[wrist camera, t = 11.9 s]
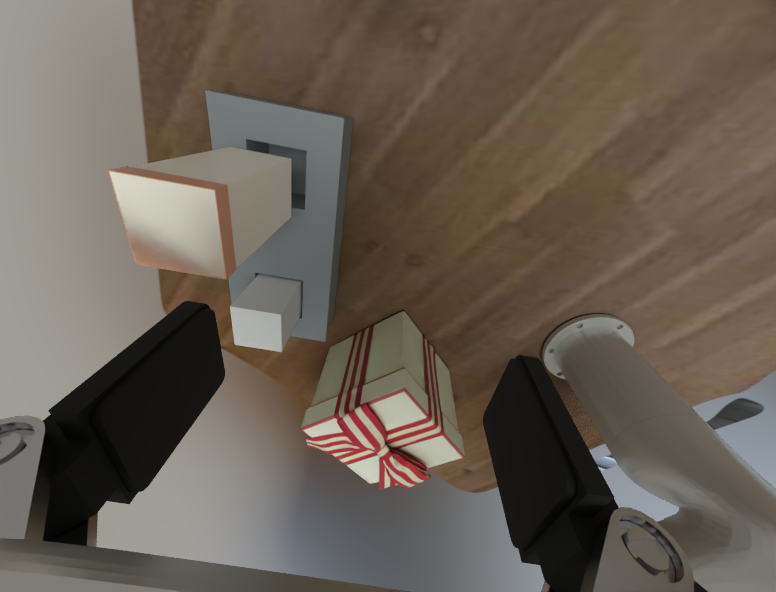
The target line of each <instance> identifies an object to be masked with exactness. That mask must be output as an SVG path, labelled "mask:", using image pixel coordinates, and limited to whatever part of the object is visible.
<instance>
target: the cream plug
mask: <svg viewBox="0 0 776 592" xmlns="http://www.w3.org/2000/svg"><path fill="white" fill-rule="evenodd" d="M108 172H109V176H110V179H111V182H112V186H113V189H114V192H115V196H116V199H117V202H118V206H119V209H120V212H121V216H122V219H123V222H124V226H125V229H126V232H127V236H128V239H129V242H130V246H131V249H132V252H133V256H134V259H135V262H136V264H138V265H144V266H150V267H156V268H161V269H167V270H173V271H179V272H185V273H191V274H197V275H203V276H209V277H215V278H221V279H228V278H229V277H230V276H231V275H232V274H233V273H234V272H235V271H236V268H237V267H238V266H240V265H241V264H242V263H243V262H244V261H245V260H246V259H247V258H248V257H249V256H250V255H251V254H252V253H253V252H254V251H256V250H257V249H258V248H259V247H260V246H261V245H262V244H263V243H264V242H265V241H266V240H267V239H268V238H269V237H270V236H271V235H273V234H274V233H275V232H276V231H277V230H278V229H279V228H280V227H281V226H282V225H283V224H284V223H285V222H286V221H287V220H289V219H290V218H291V158H286V157H281V156H275V155H270V154H265V153H260V152H255V151H249V150H244V149H239V148H234V147H228V148H223V149H218V150H213V151H208V152H203V153H198V154H193V155H188V156H183V157H178V158H173V159H168V160H163V161H158V162H153V163H148V164H144V165H139V166H133V167H128V166H126V167H121V168H116V169H111V170H108Z"/></svg>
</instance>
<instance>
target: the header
mask: <svg viewBox="0 0 776 592" xmlns="http://www.w3.org/2000/svg"><path fill="white" fill-rule="evenodd" d="M205 92H206V100H207V108H208V116H209V125H210V133H211V141H212V149H213V150H218V149H223V148H228V147H234V148H239V149H244V150H249V151H255V152H260V153H265V154H270V155H275V156H281V157H286V158H291V218H290V219H289V220H287V221H286V222H285V223H284V224H283V225H282V226H281V227H280V228H279V229H278V230H277V231H276V232H275V233H274V234H273V235H271V236H270V237H269V238H268V239H267V240H266V241H265V242H264V243H263V244H262V245H261V246H260V247H259V248H258V249H257V250H256V251H254V252H253V253H252V254H251V255H250V256H249V257H248V258H247V259H246V260H245V261H244V262H243V263H242V264H241V265H240V266H238V267H237V268H236V271H235V272H234V273H233V274H232V275H231V276H230V277H229V278H228V279H229V288H230V296H231V304H232V305H231V306H230V311H231V319H232V327H233V334H234V342H235V345H240V346H246V347H253V348H259V349H266V350H272V351H278V352H282V351H283V349H284V347H285V345H286V343H287V341H288V339H289V337H290V336H292V337H299V338H305V339H311V340H317V341H324V342H326V339H327V336H328V333H329V330H330V327H331V324H332V321H333V318H334V314H335V304H336V294H337V283H338V273H339V263H340V252H341V242H342V232H343V222H344V211H345V201H346V191H347V180H348V170H349V160H350V149H351V139H352V129H353V119H354V117H350V116H345V115H340V114H335V113H330V112H325V111H320V110H315V109H310V108H305V107H300V106H296V105H291V104H286V103H281V102H276V101H271V100H266V99H261V98H256V97H251V96H246V95H241V94H235V93H226V92H217V91H208V90H205Z"/></svg>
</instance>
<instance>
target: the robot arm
mask: <svg viewBox="0 0 776 592" xmlns="http://www.w3.org/2000/svg"><path fill="white" fill-rule="evenodd" d="M633 346H634V334H633V331H632V330H631V328H630V327H629V326H628V325H627V324H626V323H625V322H624V321H623V320H621V319H619V318H617V317H615V316H612V315H607V314H590V315H585V316H581V317H578V318H575V319H572V320H570V321H568V322H566V323H564V324H563V325H561V326H560V327H558V328H557V329H556V330H555V331H554V332H553V333H552V334H551V335H550V336H549V337H548V339H547V340H546V342H545V344H544V346H543V349H542V359H543V362H544V364H545V366H546V368H547V369H548V370H549V372H550V373H552V374H553V375H554V376H557V377H559V378H561V379H565V380H567V382H568V383H569V385H570V387H571V388H572V390H573V392H574V393H575V395H576V396H577V398H578V400H579V401H580V403H581V405H582V406H583V408H584V410H585V411H586V413H587V414H588V416H589V418H590V419H591V421H592V423H593V424H594V426H595V428H596V429H597V431H598V432H599V434H600V436H601V437H602V439H603V441H604V442H605V444H606V446H607V447H608V449H609V450H610V452H611V454H612V456H613V457H614V459H615V460H616V462H617V464H618V465H619V467H620V468H621V470H622V471H623V472H624V473H625V474H626V475H627V477H629V478H630V479H631V480H632V481H633V482H634V483H635V484H637V485H638V486H640V487H641V488H643V489H645V490H646V491H648V492H649V493H651V494H653V495H655V496H657V497H659V498H661V499H663V500H665V501H667V502H669V503H671V504H674V505H676V506H678V507H679V512H677V513H676V514H675V515H672V516H670V517H667V518H665V519H664V520H661V521H658V522H656V521H655V520H654V519H652V518H650V517H649V516H647V515H645V514H644V513H642V512H640V511H637V510H634V509H632V508H624V507H621V508H618V506H617V504H616V502H615V500H614V496H613V494H612V493H611V490H610V488H609V487H608V485H607V483H606V481H605V479H604V477H603V476H602V474H601V472H600V470H599V468H598V466H597V464H596V462H595V461H594V459H593V457H592V455H591V453H590V451H589V450H588V448H587V446H586V444H585V442H584V440H583V438H582V437H581V435H580V433H579V431H578V429H577V427H576V425H575V424H574V422H573V420H572V418H571V416H570V414H569V412H568V411H567V409H566V407H565V405H564V403H563V401H562V399H561V398H560V396H559V394H558V392H557V390H556V388H555V386H554V385H553V383H552V381H551V379H550V377H549V375H548V374H547V372H546V370H545V368H544V366H543V364H542V362H541V361H540V360H539V359H538V358H534V357H528V356H522V355H518V356H517V357H516V358H515V359H511V360H510V361H509V363H508V365H507V367H506V370H505V372H504V374H503V376H502V378H501V380H500V382H499V384H498V386H497V388H496V390H495V392H494V394H493V396H492V398H491V400H490V402H489V404H488V407H487V409H486V411H485V413H484V416H483V424H484V429H485V433H486V437H487V442H488V446H489V450H490V454H491V458H492V463H493V467H494V471H495V475H496V479H497V483H498V488H499V492H500V496H501V500H502V504H503V508H504V513H505V517H506V521H507V525H508V529H509V533H510V538H511V541H512V543H513V545H514V546H515V547H516V548H518V549H519V553H520V557H521V561H522V562H523V563H530V564H537V565H540V566H541V569H542V573H543V576H544V579H545V582H544V585H543V588H542V590H541V592H776V488H774V487H773V486H772V485H771V484H770V483H769V482H768V481H766V480H765V479H764V478H763V477H762V476H761V475H760V474H758V473H757V472H756V471H755V470H754V469H753V468H752V467H751V466H750V465H749V464H748V463H747V462H746V461H745V460H743V458H742V457H741V456H740V455H739V454H737V453H736V452H735V451H734V450H733V449H732V448H731V447H730V446H729V445H728V444H727V443H726V442H725V441H724V440H723V439H722V438H721V437H720V436H719V435H718V434H717V433H716V432H715V431H714V430H713V429H712V428H711V427H710V426H709V425H708V424H707V423H706V422H705V421H704V420H703V419H702V418H701V417H700V416H699V415H698V414H697V413H696V412H695V411H694V409H693V408H692V407H691V406H690V405H689V404H688V403H687V402H686V401H685V400H684V399H683V398H682V397H681V396H680V395H679V394H678V393H677V392H676V391H675V390H674V389H673V388H672V387H671V386H670V385H669V384H668V383H667V382H666V381H665V380H664V379H663V378H662V377H661V376H660V375H659V374H658V373H657V372H656V371H655V370H654V369H653V368H652V367H651V366H650V365H649V364H648V363H647V362H646V361H645V360H644V359H643V358H642V357H641V355H640V354H639V353H638V352H637V351H636V350H635V349H634V348H633ZM224 377H225V369H224V363H223V357H222V352H221V346H220V340H219V335H218V329H217V323H216V317H215V313H214V311H213V310H211V309H210V307H209V306H208V305H207V304H203V303H197V302H191V301H185V302H183V303H182V304H181V305H179V306H178V307H177V308H176V309H174V310H173V311H172V312H171V313H169V314H168V315H167V316H166V317H164V318H163V319H162V320H161V321H159V322H158V323H157V324H156V325H154V326H153V327H152V328H151V329H149V330H148V331H147V332H146V333H144V334H143V335H142V336H141V337H139V338H138V339H137V340H136V341H134V342H133V343H132V344H131V345H129V346H128V347H127V348H126V349H124V350H123V351H122V352H121V353H119V354H118V355H117V356H116V357H114V358H113V359H112V360H111V361H110V362H108V363H107V364H106V365H105V366H103V367H102V368H101V369H100V370H98V371H97V372H96V373H94V374H93V375H92V376H91V377H90V378H88V379H87V380H86V381H85V382H83V383H82V384H81V385H80V386H78V387H77V388H76V389H75V390H73V391H72V392H71V393H70V394H69V395H67V396H66V397H65V398H64V399H62V400H61V401H60V402H58V403H57V404H56V405H55V406H53V407H52V408H51V409H50V410H49V412H50V414H51V415H50V416H48V417H47V418H46V419H45V420H43V421H41V420H40V419H39V418H36V417H32V416H15V417H10V418H6V419H1V420H0V592H409V591H402V590H395V589H388V588H382V587H376V586H369V585H361V584H355V583H347V582H341V581H334V580H327V579H320V578H313V577H307V576H300V575H293V574H286V573H279V572H272V571H265V570H258V569H251V568H244V567H237V566H229V565H223V564H216V563H209V562H201V561H194V560H187V559H179V558H173V557H165V556H158V555H151V554H144V553H137V552H130V551H123V550H115V549H107V548H98V547H96V543H97V518H98V511H99V510H100V509H101V507H102V506H103V505H104V504H105V502H106V501H112V502H118V503H126V504H130V502H131V501H132V500H133V498H134V497H135V495H136V494H137V493H138V492H141V491H143V490H144V489H145V488H147V487H148V486H149V484H150V483H151V482H152V480H153V479H154V477H155V476H156V475H157V473H158V472H159V470H160V469H161V468H162V466H163V465H164V464H165V462H166V461H167V459H168V458H169V457H170V455H171V454H172V452H173V451H174V449H175V448H176V446H177V445H178V444H179V443H180V441H181V440H182V438H183V437H184V436H185V434H186V433H187V431H188V430H189V428H190V427H191V426H192V424H193V423H194V422H195V420H196V419H197V417H198V416H199V415H200V413H201V412H202V410H203V409H204V408H205V406H206V405H207V404H208V402H209V401H210V399H211V398H212V397H213V395H214V394H215V392H216V391H217V390H218V388H219V387H220V385H221V384H222V382H223V380H224Z"/></svg>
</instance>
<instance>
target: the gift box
mask: <svg viewBox="0 0 776 592" xmlns="http://www.w3.org/2000/svg"><path fill="white" fill-rule="evenodd" d="M301 430H302V431H304V432H305V433H306V434H307V435H309V436H310V437H307V438H306V441H307V444H308V448H317V449H319V450H321V451H323V452H325V453H326V454H333V455H334V456H335V457H336V458H338V459H339V460H340V461H342V462H343V463H344V464H345V465H347V466H348V467H349V468H351V469H352V470H353V471H354V472H356V473H357V474H358V475H360V476H361V477H362V478H363V479H365V480H366V481H367V482H368V483H370V484H371V483H375V482H379V490H381V489H384V488H387V487H390V486H394V485H400V486H402V487H404V488H410V487H412V486H414V485H416V484H419V483H421V482H423V481H426V480H428V479H430V478H431V475H430V474H428V473H426V472H425V471H427V470H426V468H429V467H433V466H436V465H440V464H443V463H446V462H450V461H453V460H457V459H461V458H464V457H465V452H464V446H463V440H462V435H461V434H460V433H459V432H458V425H457V419H456V412H455V406H454V400H453V393H452V387H451V381H450V373H449V369H448V368H447V367H446V365H445V364H444V363H443V361H442V360H441V359H440V358H439V356H438V355H437V353H436V351H435V348H434V347H433V346H431V345H430V344H429V343H428V342H427V340H426V338H425V337H424V336H423V334H421V332H420V331H419V330H418V328H417V327H416V326H415V324H414V323H413V322H412V320H411V319H410V318H409V316H408V315H407V314H406V312H405V311H402V312H400V313H398V314H396V315H393V316H391V317H389V318H387V319H385V320H383V321H381V322H379V323H377V324H375V325H373V326H371V327H369V328H367V329H365V330H363V331H361V332H359V333H357V334H355V335H353V336H351V337H349V338H347V339H345V340H343V341H341V342H339V343H337V344H335V345H333V346H331V347H330V349H329V352H328V355H327V358H326V361H325V364H324V367H323V371H322V374H321V377H320V380H319V383H318V386H317V389H316V392H315V395H314V398H313V402H312V405H311V407H309V408H307V410H306V413H305V416H304V420H303V423H302V426H301Z"/></svg>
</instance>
